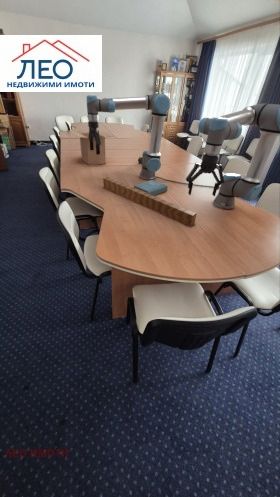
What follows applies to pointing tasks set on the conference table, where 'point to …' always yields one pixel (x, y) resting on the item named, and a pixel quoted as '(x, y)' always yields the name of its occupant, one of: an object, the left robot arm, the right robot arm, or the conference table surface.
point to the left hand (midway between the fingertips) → (95, 152)
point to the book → (151, 187)
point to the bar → (151, 201)
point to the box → (91, 155)
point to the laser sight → (140, 160)
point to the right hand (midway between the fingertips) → (201, 194)
